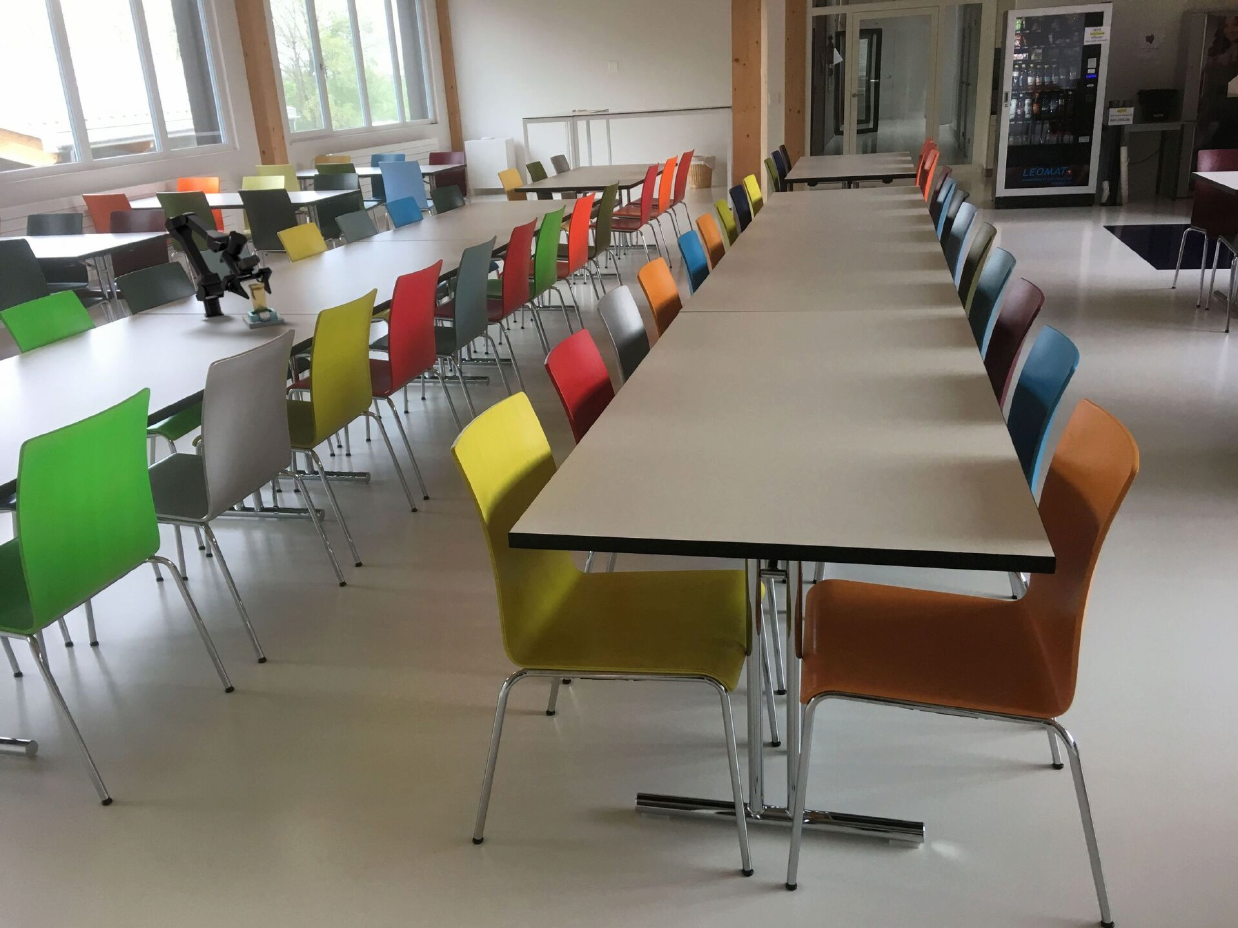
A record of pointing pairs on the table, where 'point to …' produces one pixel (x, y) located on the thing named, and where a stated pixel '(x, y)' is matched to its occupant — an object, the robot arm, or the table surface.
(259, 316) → the manifold board
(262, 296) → the brass fitting
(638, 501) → the table surface
